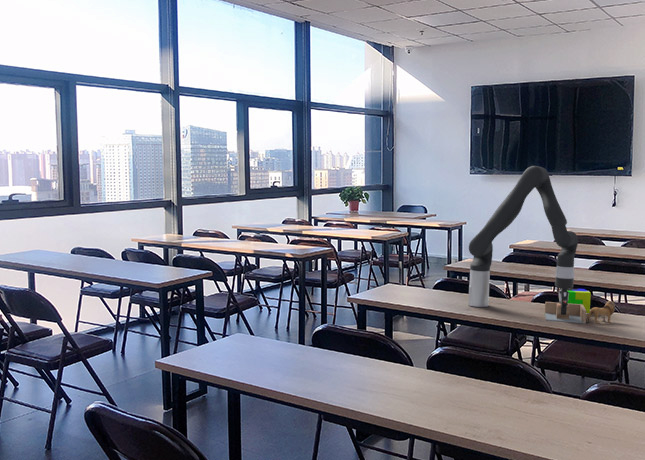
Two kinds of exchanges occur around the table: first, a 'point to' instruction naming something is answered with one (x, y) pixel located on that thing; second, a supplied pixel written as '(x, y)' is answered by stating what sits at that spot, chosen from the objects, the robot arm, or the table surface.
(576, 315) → the arena
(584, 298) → the puzzle toy
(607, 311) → the lion figurine
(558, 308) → the block
